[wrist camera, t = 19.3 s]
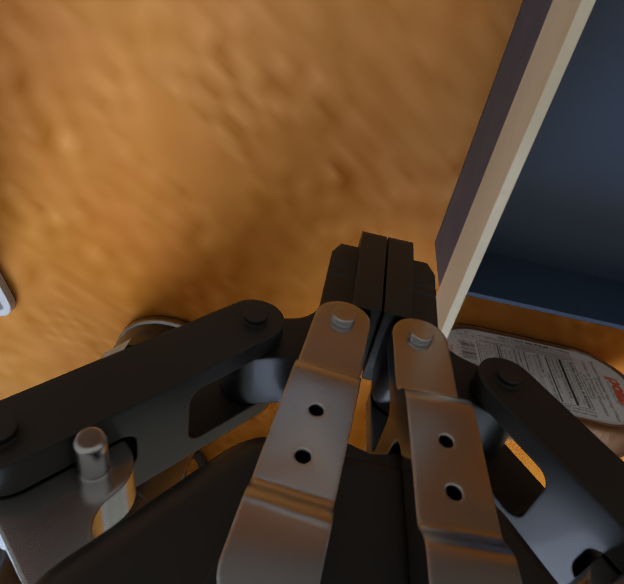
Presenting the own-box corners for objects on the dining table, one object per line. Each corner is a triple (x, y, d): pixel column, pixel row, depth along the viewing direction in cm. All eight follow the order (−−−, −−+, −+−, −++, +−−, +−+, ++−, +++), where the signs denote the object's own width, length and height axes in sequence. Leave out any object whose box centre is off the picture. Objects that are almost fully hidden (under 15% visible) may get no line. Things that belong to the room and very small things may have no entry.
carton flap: (421, 396, 23) (414, 393, 23) (442, 296, 29) (436, 294, 29) (637, -93, 12) (621, -96, 12) (595, -82, 18) (585, -84, 19)
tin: (410, 338, 39) (412, 426, 32) (422, 306, 37) (426, 392, 30) (606, 381, 39) (649, 479, 32) (629, 351, 37) (679, 449, 30)
